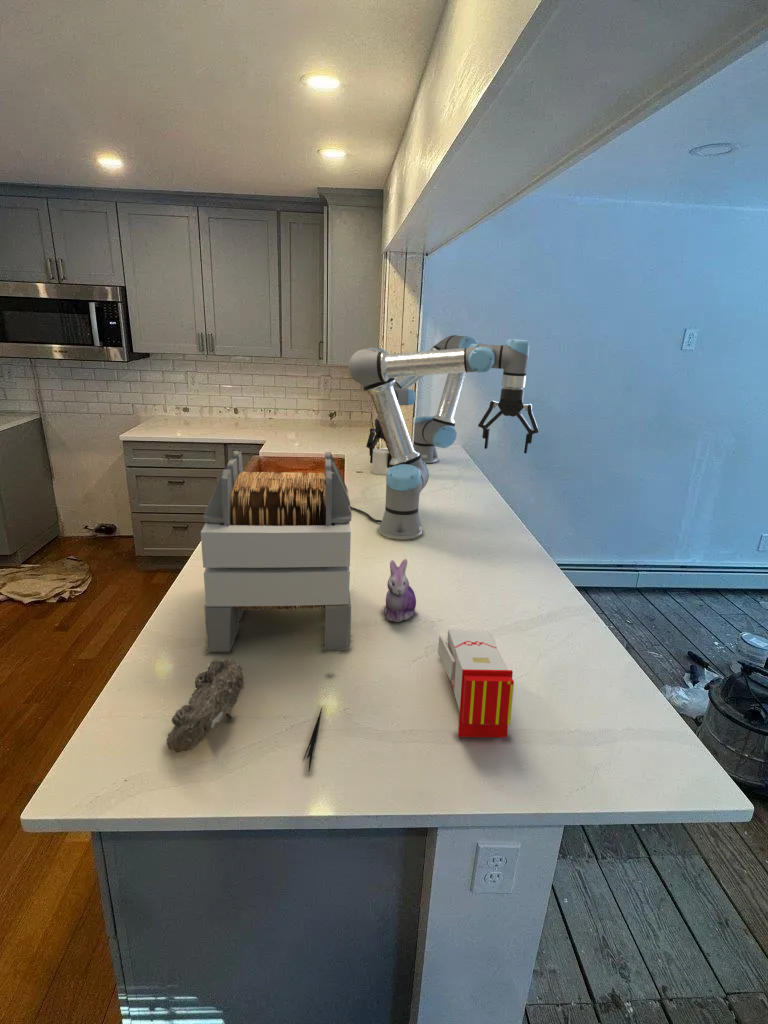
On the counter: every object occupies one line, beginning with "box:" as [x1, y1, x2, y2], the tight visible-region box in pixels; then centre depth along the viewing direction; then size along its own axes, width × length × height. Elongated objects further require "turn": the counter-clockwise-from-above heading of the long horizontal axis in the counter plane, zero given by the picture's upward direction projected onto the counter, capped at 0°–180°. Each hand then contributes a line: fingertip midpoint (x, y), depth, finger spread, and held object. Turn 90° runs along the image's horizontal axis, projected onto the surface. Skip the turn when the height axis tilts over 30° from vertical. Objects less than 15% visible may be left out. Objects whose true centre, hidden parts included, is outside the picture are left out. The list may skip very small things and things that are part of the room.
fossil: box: [166, 658, 245, 754], centre depth 106 cm, size 22×10×15 cm
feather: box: [301, 673, 332, 771], centre depth 108 cm, size 2×28×2 cm
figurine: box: [384, 558, 417, 623], centre depth 145 cm, size 9×10×15 cm
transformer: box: [200, 450, 353, 653], centre depth 138 cm, size 34×33×41 cm
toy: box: [437, 628, 515, 738], centre depth 117 cm, size 12×13×30 cm
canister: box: [371, 448, 391, 476], centre depth 272 cm, size 8×8×11 cm
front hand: (505, 450), depth 196 cm, fingers open, 13 cm apart
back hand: (381, 464), depth 272 cm, fingers open, 10 cm apart
